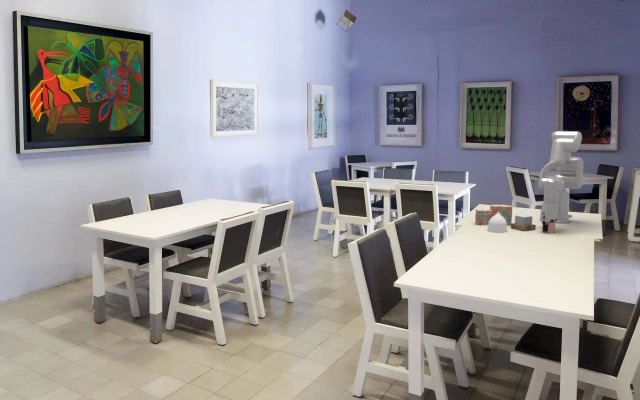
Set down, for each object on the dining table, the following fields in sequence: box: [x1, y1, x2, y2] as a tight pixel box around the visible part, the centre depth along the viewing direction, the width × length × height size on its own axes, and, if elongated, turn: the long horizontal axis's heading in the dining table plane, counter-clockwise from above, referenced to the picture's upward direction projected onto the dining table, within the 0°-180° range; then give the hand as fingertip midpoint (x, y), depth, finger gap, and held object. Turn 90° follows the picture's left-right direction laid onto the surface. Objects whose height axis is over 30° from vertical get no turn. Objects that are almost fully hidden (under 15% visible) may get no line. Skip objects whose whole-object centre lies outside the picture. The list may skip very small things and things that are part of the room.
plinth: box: [510, 222, 537, 232], centre depth 335 cm, size 10×10×3 cm
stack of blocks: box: [474, 204, 513, 226], centre depth 349 cm, size 21×6×12 cm, turn 86°
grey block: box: [514, 214, 533, 226], centre depth 334 cm, size 7×7×5 cm
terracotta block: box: [541, 220, 557, 234], centre depth 326 cm, size 5×5×6 cm
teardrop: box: [487, 212, 508, 234], centre depth 329 cm, size 11×11×12 cm
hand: (548, 230), depth 327 cm, fingers open, 5 cm apart
